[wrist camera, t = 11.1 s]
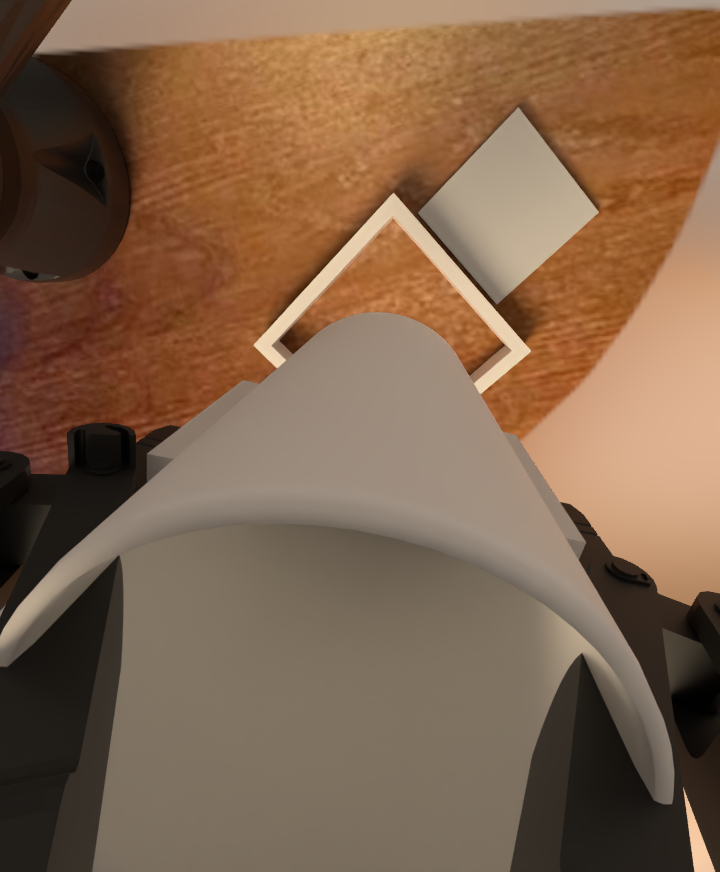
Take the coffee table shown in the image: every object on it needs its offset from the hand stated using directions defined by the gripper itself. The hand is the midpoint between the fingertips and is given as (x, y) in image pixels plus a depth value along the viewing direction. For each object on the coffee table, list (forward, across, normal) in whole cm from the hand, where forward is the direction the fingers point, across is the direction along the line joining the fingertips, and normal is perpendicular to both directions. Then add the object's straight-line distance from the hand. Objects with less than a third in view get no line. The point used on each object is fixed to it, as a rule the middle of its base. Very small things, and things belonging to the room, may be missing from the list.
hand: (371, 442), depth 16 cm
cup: (+4, 0, 0) cm, 4 cm away
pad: (+23, +7, +11) cm, 26 cm away
